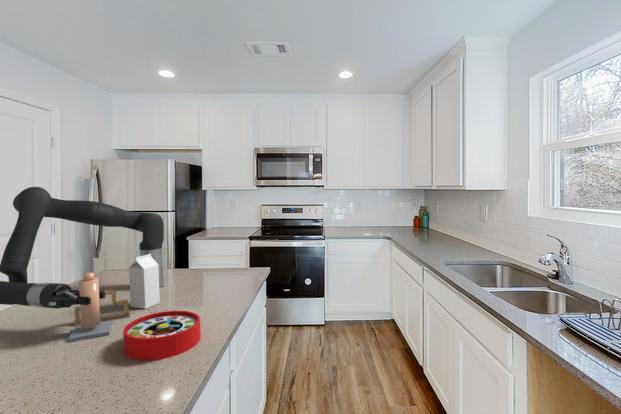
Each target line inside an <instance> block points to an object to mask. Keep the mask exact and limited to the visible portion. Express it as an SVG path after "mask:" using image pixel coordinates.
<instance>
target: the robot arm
mask: <svg viewBox="0 0 621 414" xmlns="http://www.w3.org/2000/svg"><path fill="white" fill-rule="evenodd" d="M12 206H13V208H14V209H15V211H16V212H18V216H17V220H16V223H15V226H14V228H13V231H12V233H11V235H10V236H9V239H8V241H7V243H6V246H5V248H4V251H3V254H2V256H1V260H0V273H1V274H4V275H5V276H7V277H8V281H3V280H0V305H7V306H8V305H9V306H13V305H18V306H26V307H36V308H41V309H42V308H43V309H44V308H45V309H62V308H67V309H69V308H71V307H72V306H74V307H77V306H78V305H79V306H80V305H89V304H91V298H90V297H81V296H80V294H79V288H76V287H75V288H72V287H71V286H70V285H69V284H67V283H59V282H58V283H57V282H42V283H39V282H28V267H29V264H30V260H31V257H32V252H33V249H34V245H35V241H36V238H37V235H38V231H39V229H40V227H41V223H42V221H43V219H44V218H52V219H53V218H54V219H61V220H65V221H71V222H74V223H75V222H76V223H81V224H85V225H92V226H98V227H107V228H108V227H109V228H126V229H130V230H133V231H137V232H141V233H142V240H141V242H139V245H138V246H139V257H140V256H144V255H148V254H151V257H152V258H153V259H154V260H155V261H156V262H157V264H158V268H159V288H160V287H162V288H163V287H164V286H165V282H164V279H165V277H164V264H163V261H164V260H163V243H164V238H165V233H164V231H165V230H164V229H165V226H164V225H165V224H164V220H163V218H162V216H161V215H160V214H158V213H154V212H138V211H129V210H125V209H123V208H120V207H118V206H114V205H111V204H108V203H103V202H97V201H94V200H93V201H92V200H74V199H73V200H66V199H61V198H60V199H59V198H55V197H52V196H51V194H50V192H49V191H48V190H46V189H45V188H43V187H40V186H30V187H27V188H25V189H22V190H21V191H20V192H19V193H18V194H16V195H15V197H14V198H13V201H12ZM105 291H106V290H99V300H100V299H101V300H104V299H105V298H106V295H105Z"/></svg>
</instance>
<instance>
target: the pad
mask: <svg viewBox="0 0 621 414" xmlns="http://www.w3.org/2000/svg"><path fill="white" fill-rule="evenodd" d="M112 323H113V320H107V321H101V322H100V324H99V325H97V326H95V327H91V328H82V327H81V325H76V326H74V327H73V330H72V331H71V334H70V336H69V338H68V343H72V342H77V341H82V340H88V339H95V338H99V337H100V338H101V337H105V336H110V333H111V329H112V325H113V324H112Z"/></svg>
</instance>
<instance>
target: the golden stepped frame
mask: <svg viewBox="0 0 621 414" xmlns="http://www.w3.org/2000/svg"><path fill="white" fill-rule="evenodd" d="M104 291H105V296H108V295H110V296H111V306H112V307H114V306H121V305H123V311H122V312H116V313H110V314H104V315H100V322H104V321H111V320H112V321H113V320H119V319H124V318H130V317H131V311H130V310H129V299H127V298H126V299H122V300H121V299H120V300H117V293H116V292H117V290H116V289H109V290H104ZM80 325H81V315H80V305H79V306H78V305H76V306H74V320H73V323H72V326H74V327H75V326H80Z"/></svg>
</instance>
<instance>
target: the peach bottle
mask: <svg viewBox="0 0 621 414" xmlns="http://www.w3.org/2000/svg"><path fill="white" fill-rule="evenodd" d="M99 281H100V279H99V278H98V277H95V273H94V271H93V272H91V271H90V272H84V273H83V274H82V279H80V280H79V281H78V289H79V294H80V296H81V297H90V298H91V304H89V305H79V306H80V319H81V327H82V328H91V327H95V326H97V325H99V324H100V316H101V305H100V299H99V291H100V282H99Z"/></svg>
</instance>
